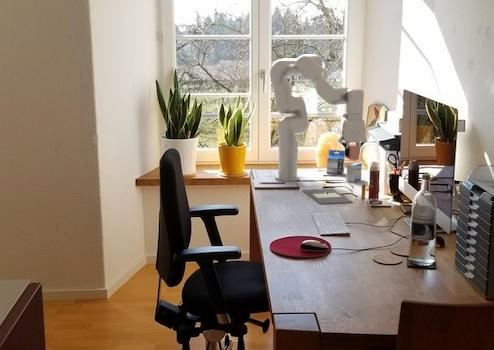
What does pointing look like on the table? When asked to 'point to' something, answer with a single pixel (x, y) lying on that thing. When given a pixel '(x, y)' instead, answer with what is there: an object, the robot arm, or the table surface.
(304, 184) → the table surface
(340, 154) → the label tape box
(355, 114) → the robot arm
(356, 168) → the medicine box
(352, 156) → the card box
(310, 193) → the mat
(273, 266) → the table surface
